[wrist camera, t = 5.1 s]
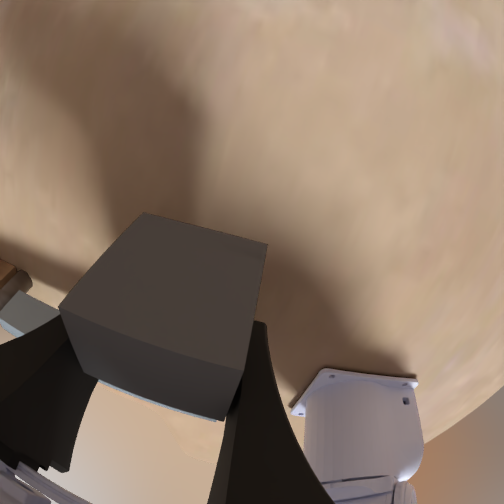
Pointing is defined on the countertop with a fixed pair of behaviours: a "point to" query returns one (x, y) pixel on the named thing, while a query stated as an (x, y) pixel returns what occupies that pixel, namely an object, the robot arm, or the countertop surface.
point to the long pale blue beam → (36, 314)
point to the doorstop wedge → (168, 314)
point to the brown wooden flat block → (12, 282)
